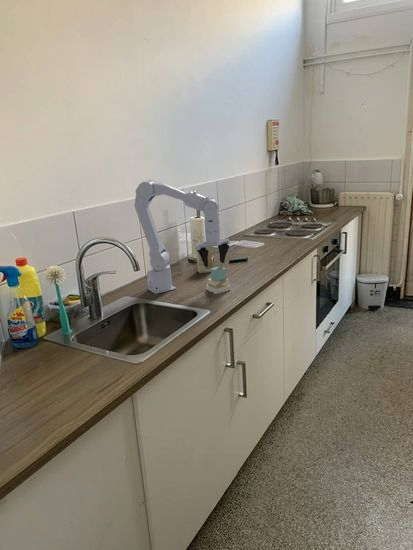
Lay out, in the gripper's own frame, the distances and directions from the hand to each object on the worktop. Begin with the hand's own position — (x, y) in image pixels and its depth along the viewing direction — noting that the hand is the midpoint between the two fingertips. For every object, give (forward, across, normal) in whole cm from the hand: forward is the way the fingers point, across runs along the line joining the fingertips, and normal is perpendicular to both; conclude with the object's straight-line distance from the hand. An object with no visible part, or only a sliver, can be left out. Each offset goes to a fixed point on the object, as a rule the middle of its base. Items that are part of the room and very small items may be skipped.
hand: (214, 264), depth 166 cm
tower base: (+11, 0, -2) cm, 11 cm away
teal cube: (+6, +1, -2) cm, 6 cm away
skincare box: (+11, +9, +24) cm, 28 cm away
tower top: (+8, 0, -2) cm, 9 cm away
